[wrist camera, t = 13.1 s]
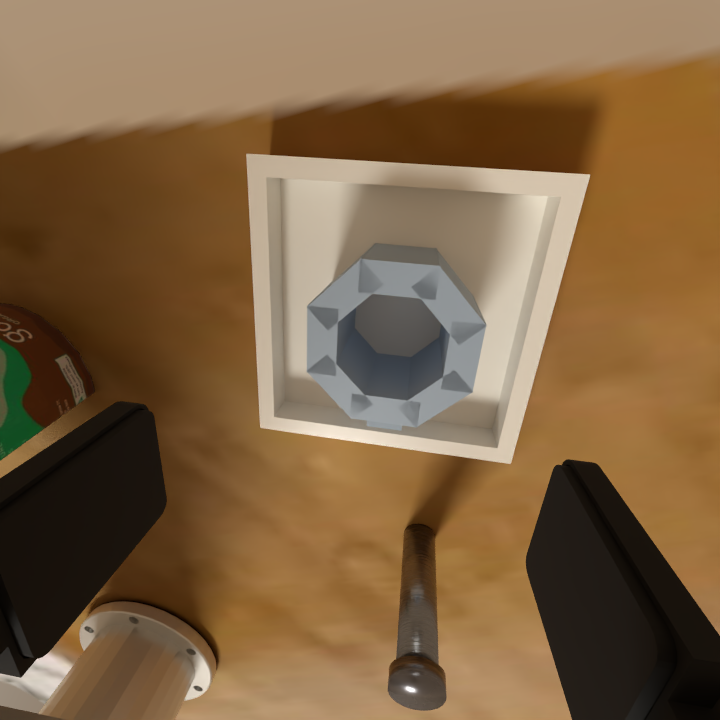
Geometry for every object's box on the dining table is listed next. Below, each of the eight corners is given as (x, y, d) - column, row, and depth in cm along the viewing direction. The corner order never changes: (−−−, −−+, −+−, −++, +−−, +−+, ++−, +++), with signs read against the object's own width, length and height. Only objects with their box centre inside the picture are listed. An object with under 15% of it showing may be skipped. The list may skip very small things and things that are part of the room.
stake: (436, 553, 26) (441, 715, 18) (397, 546, 26) (385, 703, 18) (442, 524, 25) (450, 683, 17) (401, 517, 25) (390, 670, 17)
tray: (501, 435, 22) (510, 463, 19) (276, 404, 23) (260, 427, 21) (567, 176, 16) (590, 174, 14) (269, 158, 18) (246, 153, 15)
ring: (480, 251, 17) (498, 270, 13) (452, 402, 20) (460, 456, 16) (333, 239, 18) (307, 253, 14) (328, 386, 21) (305, 433, 17)
